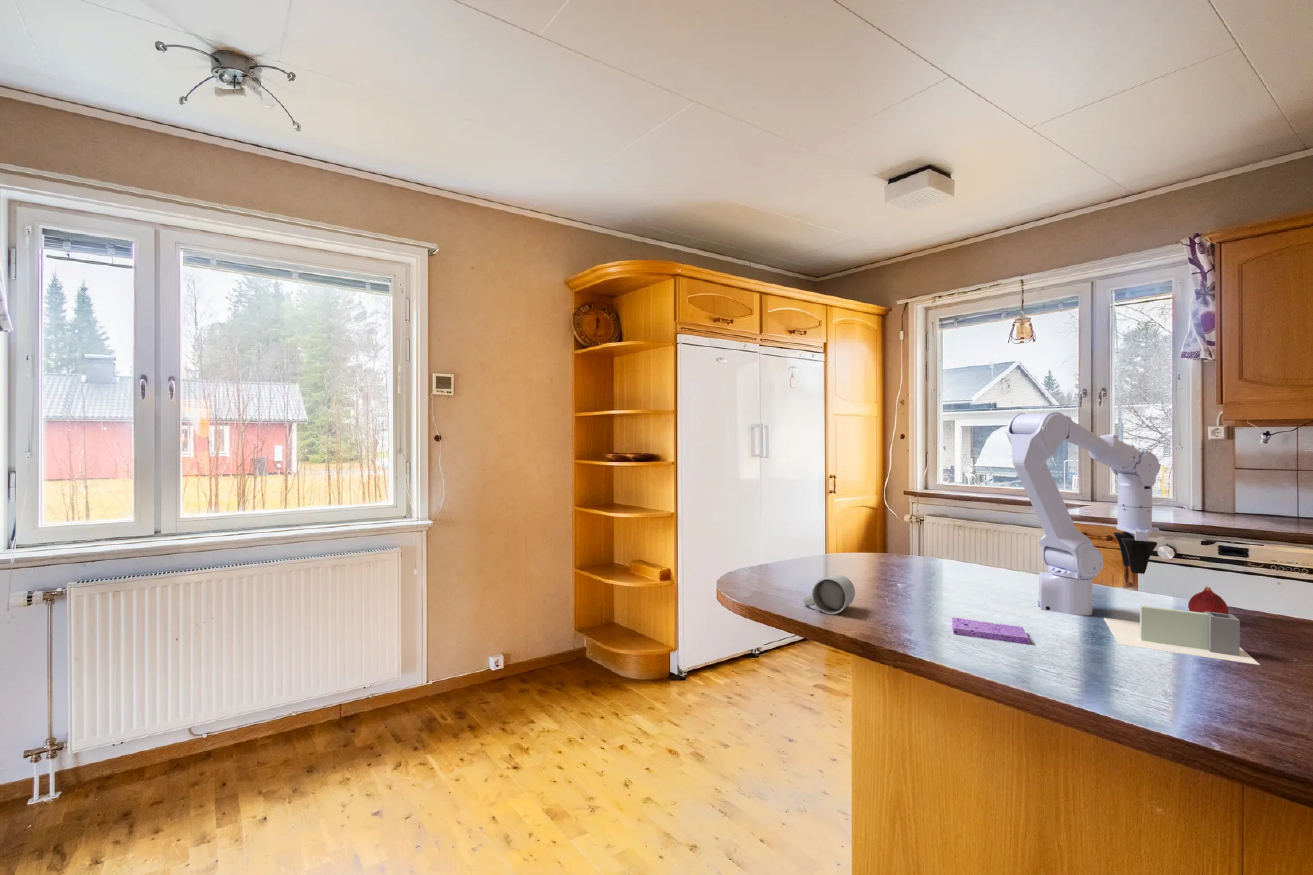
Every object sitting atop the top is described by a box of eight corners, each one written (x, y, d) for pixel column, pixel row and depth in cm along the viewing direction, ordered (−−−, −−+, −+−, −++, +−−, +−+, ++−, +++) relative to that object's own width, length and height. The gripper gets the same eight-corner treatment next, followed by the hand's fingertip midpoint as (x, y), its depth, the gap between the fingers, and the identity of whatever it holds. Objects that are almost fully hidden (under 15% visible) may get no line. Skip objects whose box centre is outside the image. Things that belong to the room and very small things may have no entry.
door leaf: (1142, 642, 104) (1143, 608, 104) (1138, 636, 107) (1138, 603, 107) (1239, 656, 98) (1239, 620, 98) (1231, 649, 101) (1232, 614, 101)
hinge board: (1119, 652, 103) (1119, 624, 103) (1102, 624, 118) (1103, 600, 118) (1260, 673, 94) (1260, 642, 94) (1223, 640, 109) (1223, 614, 109)
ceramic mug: (857, 607, 129) (856, 572, 129) (847, 617, 122) (846, 580, 122) (810, 600, 135) (809, 567, 135) (798, 609, 128) (797, 574, 128)
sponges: (951, 625, 119) (951, 616, 119) (1024, 635, 113) (1024, 625, 113) (952, 636, 113) (952, 627, 112) (1029, 647, 107) (1029, 637, 107)
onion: (1236, 632, 113) (1236, 591, 113) (1201, 630, 114) (1201, 590, 114) (1214, 623, 119) (1214, 584, 119) (1181, 621, 120) (1181, 582, 120)
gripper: (1167, 511, 117) (1167, 579, 117) (1150, 503, 130) (1150, 564, 130) (1123, 509, 121) (1122, 574, 121) (1110, 501, 133) (1110, 561, 133)
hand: (1133, 569), depth 125 cm, fingers open, 7 cm apart
